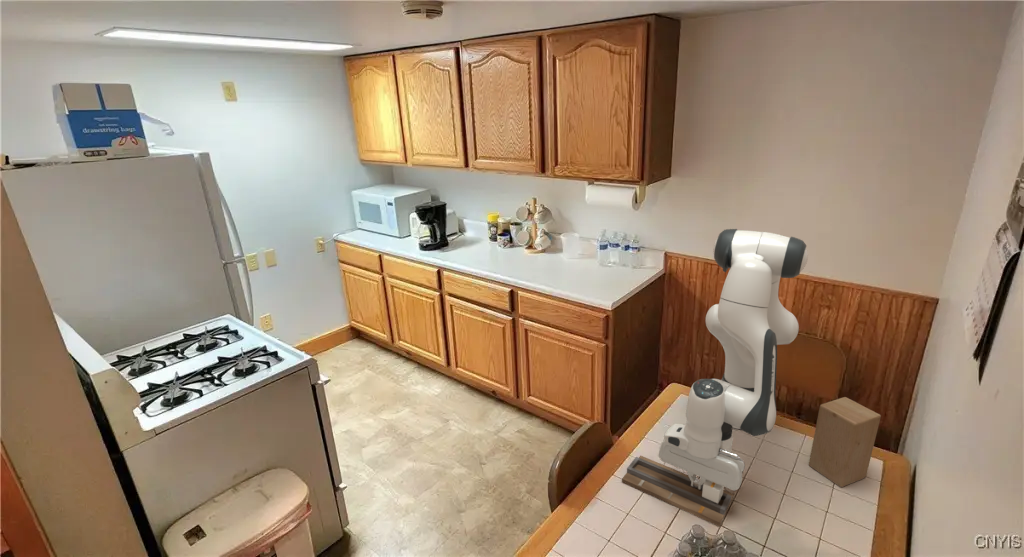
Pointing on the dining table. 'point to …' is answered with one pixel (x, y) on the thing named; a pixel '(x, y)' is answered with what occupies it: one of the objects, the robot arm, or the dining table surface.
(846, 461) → the wooden block
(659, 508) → the dining table surface
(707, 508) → the slider track
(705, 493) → the fader knob
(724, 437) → the jar
